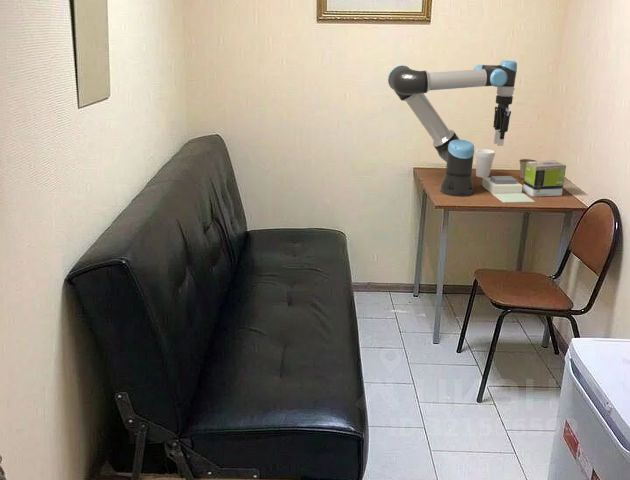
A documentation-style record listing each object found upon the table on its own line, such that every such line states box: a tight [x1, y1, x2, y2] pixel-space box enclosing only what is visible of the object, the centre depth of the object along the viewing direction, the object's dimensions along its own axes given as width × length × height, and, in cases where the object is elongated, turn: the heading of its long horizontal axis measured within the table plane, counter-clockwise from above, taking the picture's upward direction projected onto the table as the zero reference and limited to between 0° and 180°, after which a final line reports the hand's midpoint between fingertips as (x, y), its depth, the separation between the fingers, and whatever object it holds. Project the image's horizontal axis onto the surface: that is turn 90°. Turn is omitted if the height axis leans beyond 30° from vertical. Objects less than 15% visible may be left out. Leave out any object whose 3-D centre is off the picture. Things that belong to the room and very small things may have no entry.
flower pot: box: [519, 158, 537, 180], centre depth 323 cm, size 9×9×9 cm
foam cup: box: [474, 148, 496, 179], centre depth 323 cm, size 10×9×13 cm
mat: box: [492, 192, 536, 204], centre depth 290 cm, size 15×12×1 cm
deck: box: [481, 177, 524, 195], centre depth 302 cm, size 14×14×4 cm
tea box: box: [522, 160, 567, 198], centre depth 296 cm, size 15×10×15 cm, turn 100°
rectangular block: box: [490, 175, 518, 184], centre depth 300 cm, size 10×7×2 cm
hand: (498, 144), depth 305 cm, fingers open, 4 cm apart
